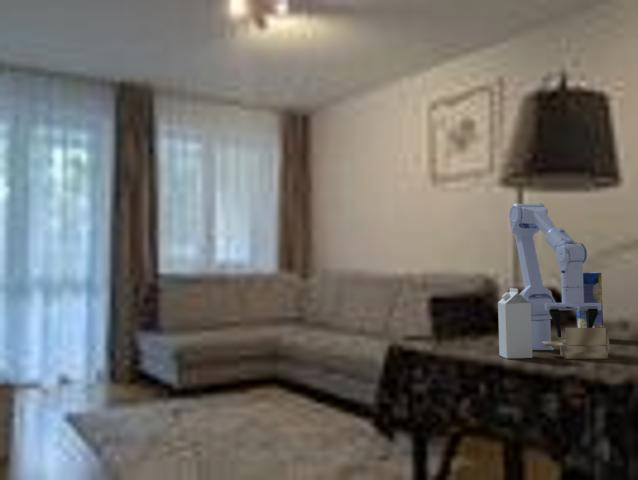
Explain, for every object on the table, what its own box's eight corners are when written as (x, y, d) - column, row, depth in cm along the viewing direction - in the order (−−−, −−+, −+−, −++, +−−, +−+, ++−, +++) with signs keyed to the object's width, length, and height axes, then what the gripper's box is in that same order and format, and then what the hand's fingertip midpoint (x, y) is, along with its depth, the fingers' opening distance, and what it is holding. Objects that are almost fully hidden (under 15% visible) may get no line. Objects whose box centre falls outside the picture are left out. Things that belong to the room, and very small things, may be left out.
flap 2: (605, 327, 189) (607, 327, 189) (600, 325, 196) (601, 325, 196) (607, 344, 189) (609, 344, 189) (602, 341, 196) (603, 341, 196)
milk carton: (524, 355, 199) (522, 287, 200) (532, 358, 192) (530, 288, 193) (499, 355, 199) (497, 288, 200) (506, 359, 192) (504, 289, 192)
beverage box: (598, 338, 237) (596, 272, 238) (603, 341, 226) (601, 273, 227) (577, 338, 239) (575, 272, 239) (581, 341, 228) (578, 273, 229)
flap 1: (565, 344, 190) (566, 344, 190) (565, 327, 191) (565, 327, 190) (606, 344, 188) (606, 344, 188) (605, 327, 189) (605, 327, 188)
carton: (546, 358, 191) (545, 344, 191) (540, 352, 204) (540, 339, 204) (608, 359, 188) (607, 344, 188) (598, 352, 201) (598, 339, 201)
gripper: (546, 288, 192) (548, 338, 192) (603, 287, 189) (604, 338, 189) (543, 287, 199) (545, 335, 199) (598, 286, 196) (599, 335, 196)
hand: (573, 336), depth 194 cm, fingers open, 7 cm apart
